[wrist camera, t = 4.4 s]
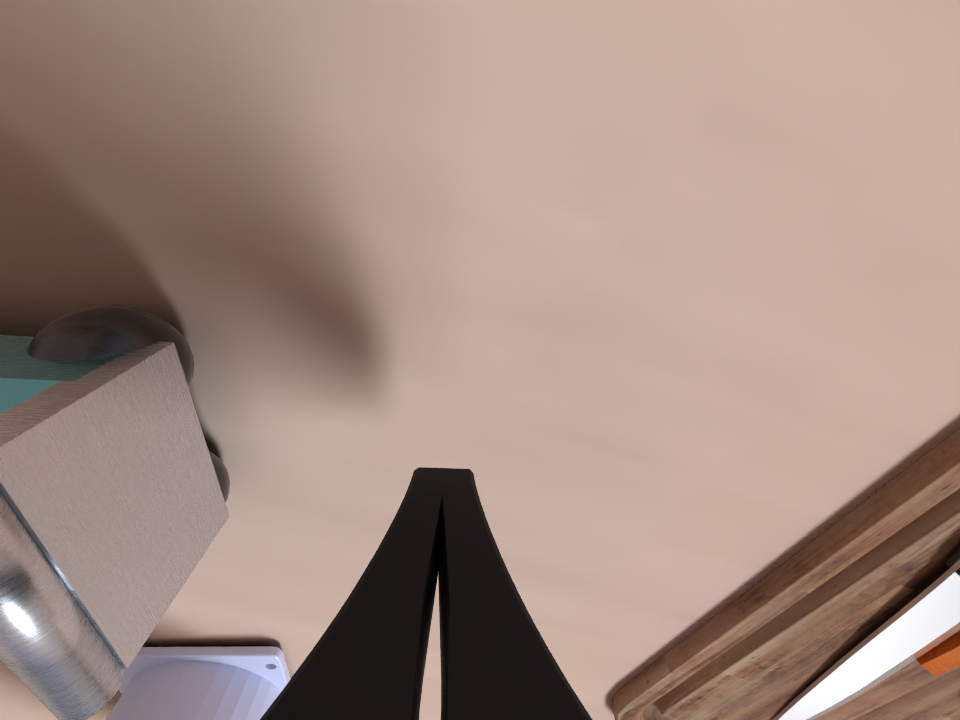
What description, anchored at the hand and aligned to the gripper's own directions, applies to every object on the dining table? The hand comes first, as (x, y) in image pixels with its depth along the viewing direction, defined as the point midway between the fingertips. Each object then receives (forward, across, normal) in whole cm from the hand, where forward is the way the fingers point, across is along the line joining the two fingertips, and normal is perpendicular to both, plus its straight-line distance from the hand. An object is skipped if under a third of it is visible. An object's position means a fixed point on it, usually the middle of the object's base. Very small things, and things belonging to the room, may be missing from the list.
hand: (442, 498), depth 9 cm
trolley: (+3, +11, 0) cm, 12 cm away
